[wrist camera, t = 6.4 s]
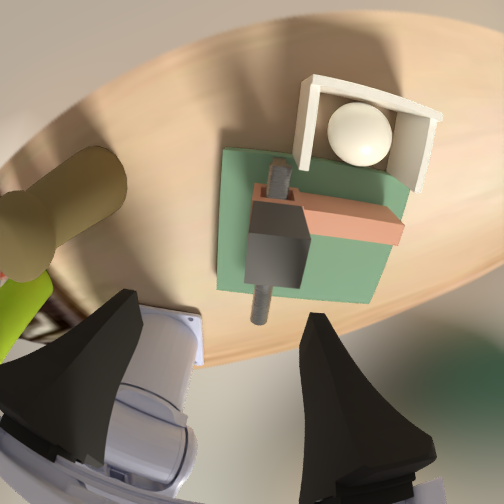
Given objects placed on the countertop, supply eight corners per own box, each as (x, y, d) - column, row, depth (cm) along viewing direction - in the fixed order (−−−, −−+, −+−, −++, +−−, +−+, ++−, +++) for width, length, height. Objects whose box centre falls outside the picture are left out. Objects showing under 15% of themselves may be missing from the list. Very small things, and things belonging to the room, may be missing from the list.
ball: (336, 82, 12) (321, 115, 16) (337, 143, 12) (319, 168, 16) (399, 100, 12) (374, 127, 16) (406, 160, 12) (376, 179, 16)
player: (251, 213, 18) (241, 283, 12) (255, 178, 17) (246, 232, 10) (380, 231, 18) (424, 298, 12) (389, 199, 17) (443, 257, 10)
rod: (252, 294, 22) (250, 324, 19) (269, 154, 16) (269, 166, 13) (267, 295, 22) (266, 326, 19) (288, 156, 16) (293, 169, 13)
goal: (292, 153, 17) (300, 172, 13) (301, 81, 15) (313, 74, 10) (391, 172, 17) (424, 197, 13) (404, 107, 15) (443, 113, 10)
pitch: (218, 280, 23) (216, 289, 22) (225, 146, 17) (222, 149, 16) (365, 295, 23) (369, 303, 22) (405, 176, 17) (412, 181, 16)
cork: (63, 196, 20) (-24, 263, 10) (80, 134, 17) (-30, 181, 7) (114, 228, 21) (37, 316, 12) (138, 166, 18) (37, 237, 9)
